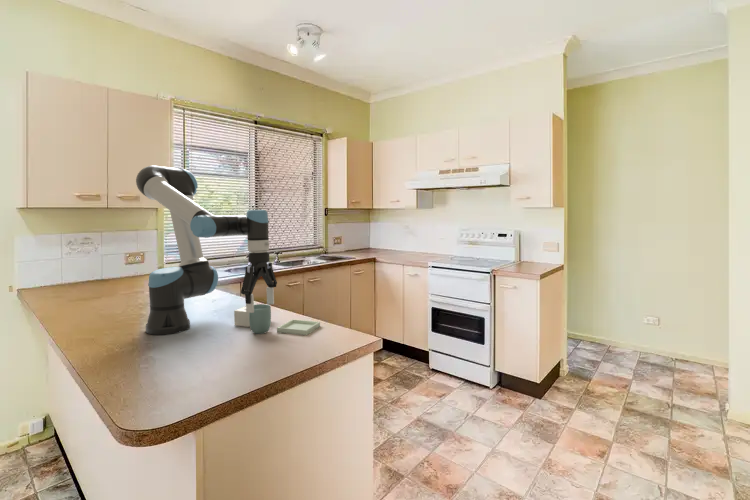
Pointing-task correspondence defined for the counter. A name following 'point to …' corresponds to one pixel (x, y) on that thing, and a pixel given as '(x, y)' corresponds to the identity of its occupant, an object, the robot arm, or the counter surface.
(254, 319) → the cup
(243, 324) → the housing
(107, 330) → the counter surface
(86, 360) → the counter surface
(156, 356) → the counter surface
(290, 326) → the tray
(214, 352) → the counter surface
